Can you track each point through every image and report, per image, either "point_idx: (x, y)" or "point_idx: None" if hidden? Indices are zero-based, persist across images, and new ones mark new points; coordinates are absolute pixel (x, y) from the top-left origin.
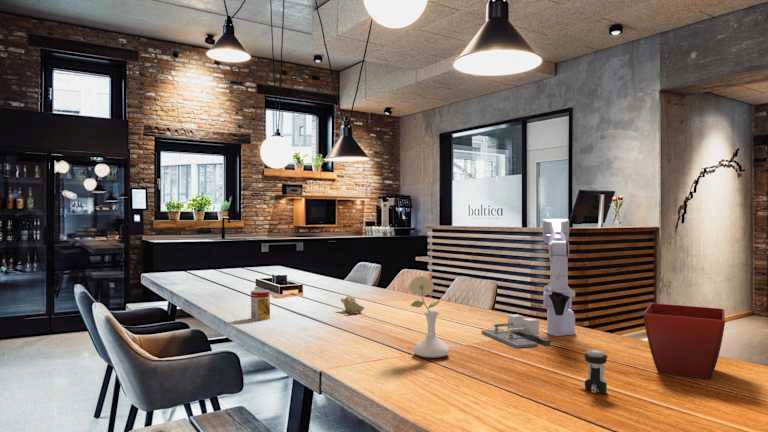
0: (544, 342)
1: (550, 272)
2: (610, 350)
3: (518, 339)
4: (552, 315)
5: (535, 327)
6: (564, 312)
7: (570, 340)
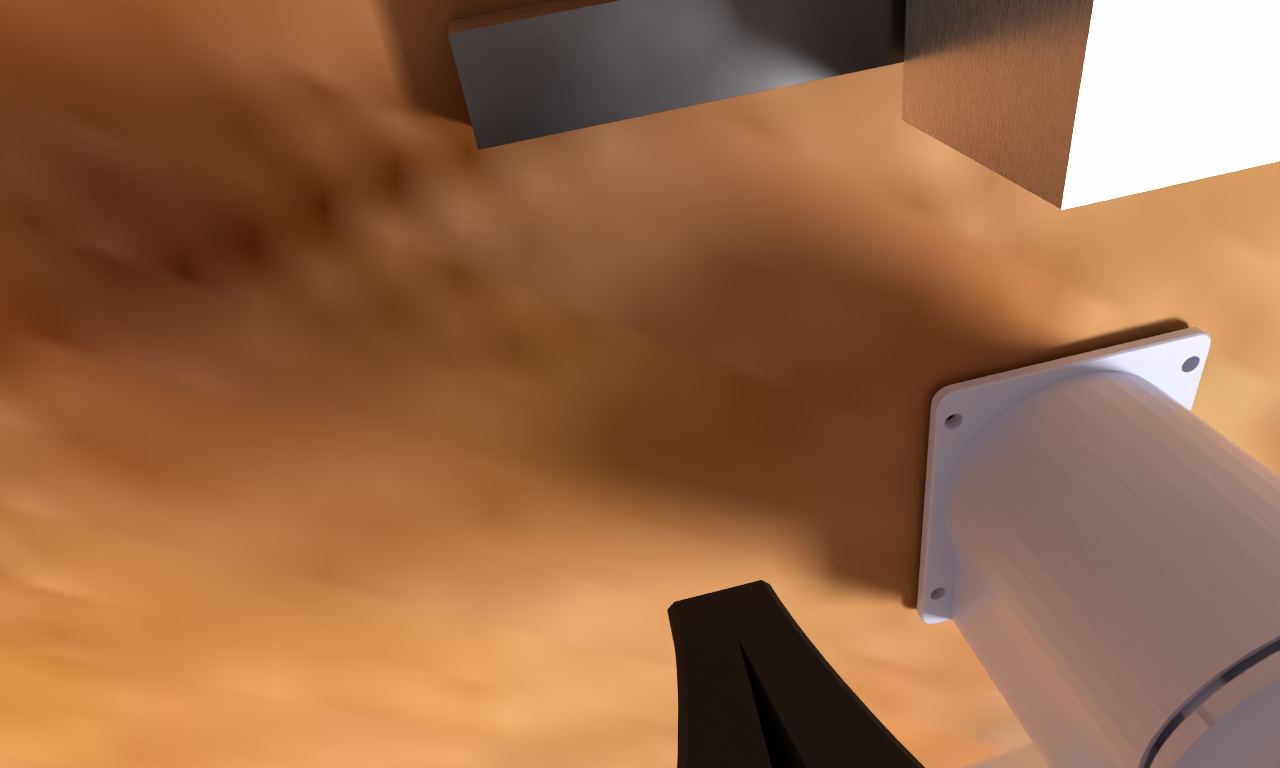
0: (481, 22)
1: None
2: (163, 696)
3: None
4: (1206, 573)
5: (977, 71)
6: (1122, 753)
7: (696, 482)
